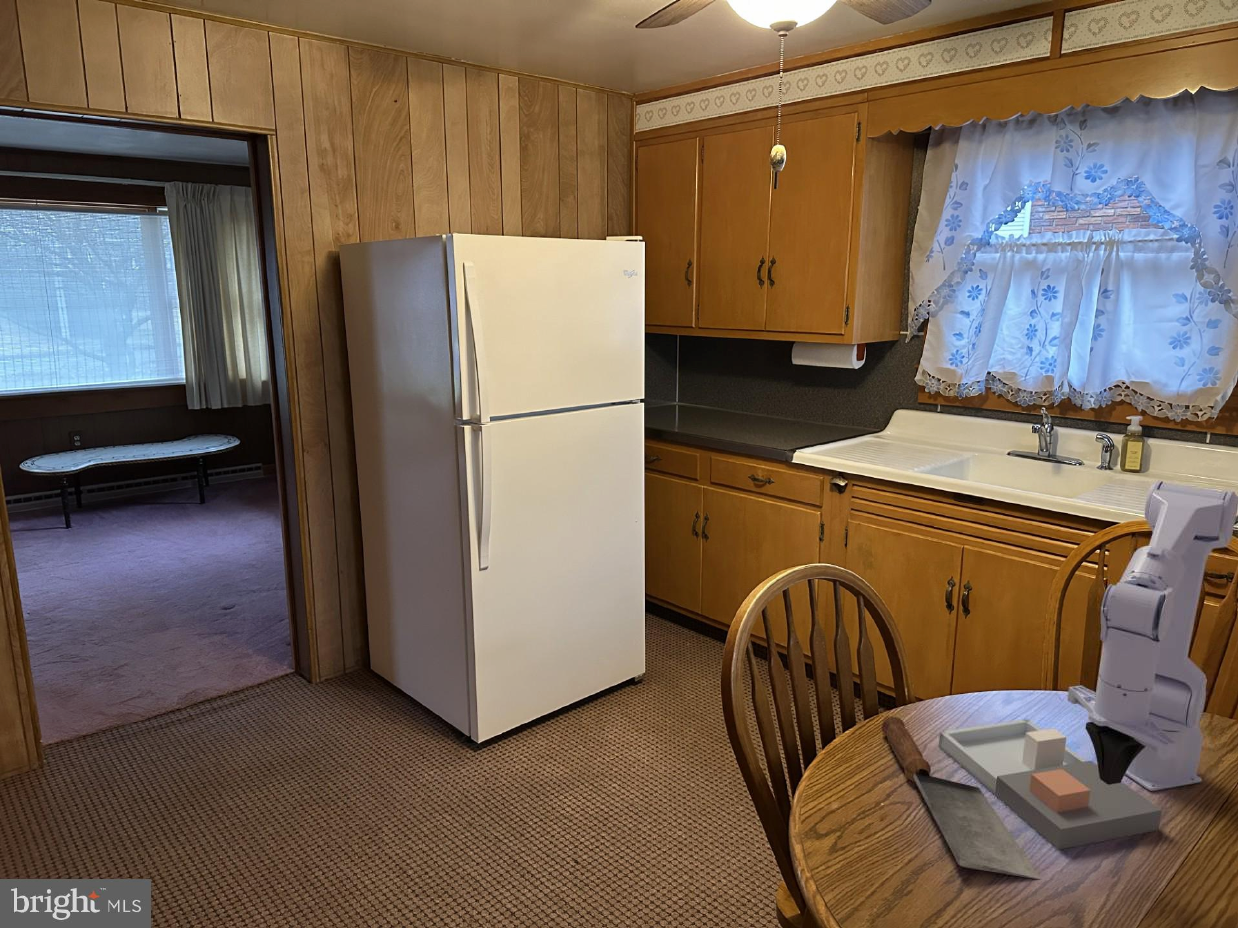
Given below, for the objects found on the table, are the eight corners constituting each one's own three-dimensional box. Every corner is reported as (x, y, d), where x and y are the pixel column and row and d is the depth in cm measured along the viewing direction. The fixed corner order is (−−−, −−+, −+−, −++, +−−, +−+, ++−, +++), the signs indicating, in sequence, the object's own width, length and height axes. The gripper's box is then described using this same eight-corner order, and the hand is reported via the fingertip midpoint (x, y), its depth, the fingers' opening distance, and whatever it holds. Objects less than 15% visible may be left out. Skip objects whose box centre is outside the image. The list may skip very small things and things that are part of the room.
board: (1088, 778, 123) (1090, 760, 122) (1158, 829, 112) (1162, 809, 111) (994, 794, 119) (997, 775, 118) (1058, 849, 108) (1061, 828, 107)
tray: (1024, 732, 135) (1026, 718, 135) (1088, 778, 123) (1090, 763, 123) (938, 746, 131) (939, 731, 131) (994, 794, 119) (996, 779, 119)
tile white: (1062, 767, 125) (1050, 758, 127) (1066, 736, 124) (1054, 728, 126) (1034, 771, 124) (1022, 762, 126) (1038, 741, 123) (1025, 732, 125)
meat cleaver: (1049, 880, 103) (1053, 851, 102) (956, 879, 103) (960, 850, 102) (947, 736, 135) (949, 713, 135) (877, 735, 136) (879, 712, 135)
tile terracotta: (1059, 784, 116) (1062, 768, 116) (1088, 806, 112) (1090, 789, 111) (1029, 790, 115) (1031, 773, 115) (1056, 812, 110) (1059, 795, 110)
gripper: (1053, 658, 108) (1040, 753, 111) (1149, 713, 94) (1132, 821, 97) (1098, 652, 109) (1085, 746, 112) (1199, 706, 96) (1181, 811, 99)
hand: (1110, 780), depth 105 cm, fingers closed
